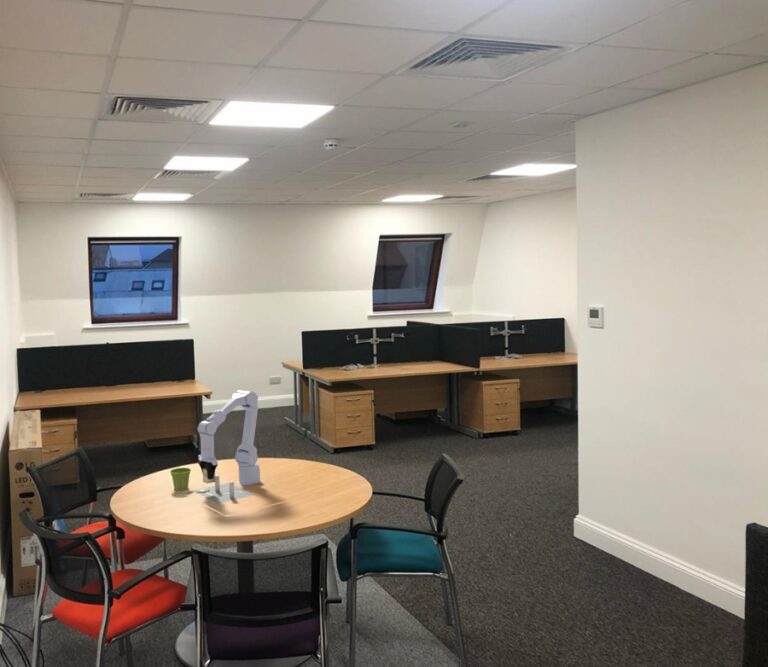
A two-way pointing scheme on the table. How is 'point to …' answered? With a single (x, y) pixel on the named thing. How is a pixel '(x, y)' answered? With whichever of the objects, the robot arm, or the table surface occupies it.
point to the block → (205, 477)
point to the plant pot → (180, 478)
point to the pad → (202, 490)
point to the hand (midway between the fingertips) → (208, 477)
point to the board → (225, 492)
